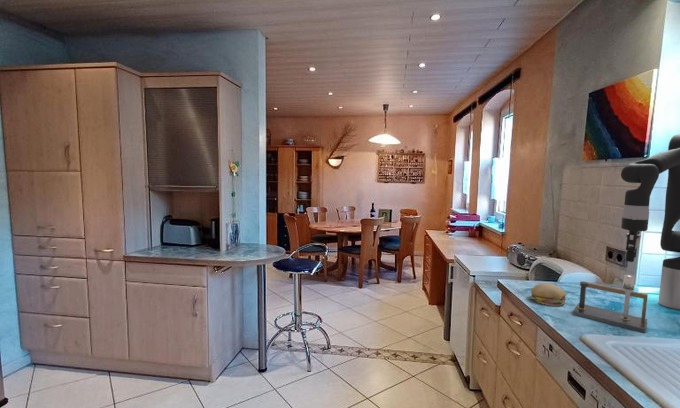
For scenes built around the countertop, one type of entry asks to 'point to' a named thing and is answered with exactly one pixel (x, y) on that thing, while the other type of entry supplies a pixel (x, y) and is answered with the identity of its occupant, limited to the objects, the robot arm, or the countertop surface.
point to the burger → (548, 294)
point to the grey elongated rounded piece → (628, 292)
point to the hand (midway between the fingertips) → (630, 259)
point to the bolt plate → (608, 315)
